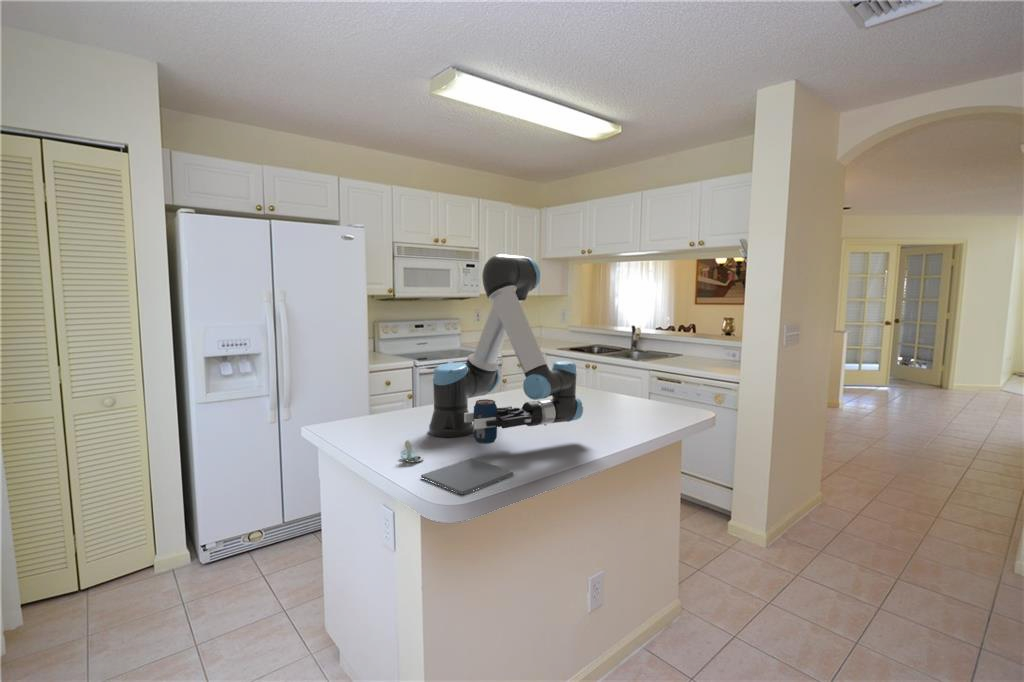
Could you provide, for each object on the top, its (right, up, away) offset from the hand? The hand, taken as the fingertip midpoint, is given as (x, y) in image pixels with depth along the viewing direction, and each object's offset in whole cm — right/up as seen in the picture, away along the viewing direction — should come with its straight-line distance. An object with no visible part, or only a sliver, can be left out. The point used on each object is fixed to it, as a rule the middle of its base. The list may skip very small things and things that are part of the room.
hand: (469, 421), depth 144 cm
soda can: (+4, -7, +3) cm, 8 cm away
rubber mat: (+1, -12, -15) cm, 19 cm away
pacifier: (-16, -11, -2) cm, 20 cm away
